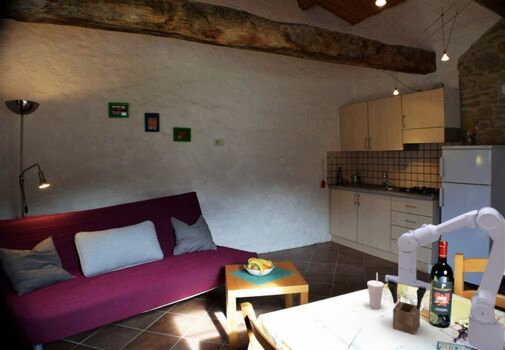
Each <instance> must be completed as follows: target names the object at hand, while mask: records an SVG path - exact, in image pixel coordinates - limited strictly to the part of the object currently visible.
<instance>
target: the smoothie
mask: <svg viewBox="0 0 505 350" xmlns="http://www.w3.org/2000/svg"><path fill="white" fill-rule="evenodd" d="M375 274H376V276H375V277H376V280H368V281H367V284H366V285H367V288H368V296H369V305H370V308H371V309H375V310H380V309H381V305H382V298H383V289H384V288H385V284H384V282H382V281H379V274H378V272H376V273H375Z"/></svg>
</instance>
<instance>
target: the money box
mask: <svg viewBox="0 0 505 350" xmlns="http://www.w3.org/2000/svg"><path fill="white" fill-rule="evenodd" d="M392 315H393V316H392V329H393V330H397V331H400V332H403V333H407V334H410V335H416V333H417V331H418V329H419V328H420V324H421V322H420V320H421V308H420V309H417V304H413V303H407V302H404V301H397V303H396V305H395V306H394V307H393V310H392Z"/></svg>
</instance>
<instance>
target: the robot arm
mask: <svg viewBox="0 0 505 350" xmlns="http://www.w3.org/2000/svg"><path fill="white" fill-rule="evenodd" d="M477 227H478V228H479V229H480V230H481V231H482V232H484V233H485V234H487V235H488V236H489V237H490V239H491V240H492V241H493V243H492V246H491V248H490V252H489V255H488V259H487V262H486V265H485V268H484V271H483V275H482V278H481V281H480V284H479V287H478V288H477V291H476V292H475V293H474V294H473V295H472V296H471V297H470V298H471V299H470V305H471V306H470V309H469V311H470V312H469V313H468V333H467V337H468V338H467V339H466V341H465V345H470V346H473V347H475V348H476V349H477V350H504V349H505V341H504V340H505V339H504V337H505V336H504V335H505V333H504V332H505V324H504V323H503V322H500V321H497V318H496V312H495V305H496V299H497V295H498V292H499V289H500V286H501V282H502V280H503V276H504V273H505V218H504V216H503V215H502V214H501V213H500V211H498V210H497V209H495V208H493V207H491V206H484V207H482V208H480V209H479V210H478V209H476V210H475V209H474V210H470V211H469V212H465V213H463V214H461V215H458V216H455V217H454V218H451V219H448V220H447V221H444V222H443V223H440V224H437V225H434V224H431V223H430V224H429V223H428V224H426V223H424V224H422V225H421V227H419V228H416V229H414V230H412V229H410V230H408V232H405V233H403V234H402V235H401V236H399V238H397V242H396V243H397V247H398V266H397V267H398V272H397V273H398V276H397V275H390V274H386V275H385V276H384V277H385V278H384V281H385V282H386V283H387V288H388V289H389V292H390V294H391V297H392V300H393V302H392V303H393V304H396V305H397V304H398V285H404V286H407V287H413V288H417V290H416V305H417V309H420V310H421V306H422V301H423V298H424V296H425V295H426V293H427V291H429V292H430V290H431V283H429V282H426V281H425V282H424V281H423V280H419V279H417V248H416V247H423V246H426V245H429V244H431V243H435V242H437V241H439V240H440V236H441V235H444V234H447V233H450V232H453V231H456V230H460V229H463V228H471V229H477Z"/></svg>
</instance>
